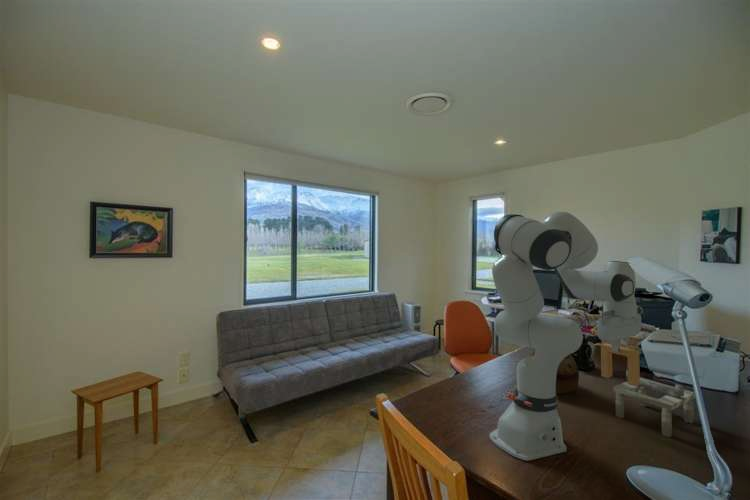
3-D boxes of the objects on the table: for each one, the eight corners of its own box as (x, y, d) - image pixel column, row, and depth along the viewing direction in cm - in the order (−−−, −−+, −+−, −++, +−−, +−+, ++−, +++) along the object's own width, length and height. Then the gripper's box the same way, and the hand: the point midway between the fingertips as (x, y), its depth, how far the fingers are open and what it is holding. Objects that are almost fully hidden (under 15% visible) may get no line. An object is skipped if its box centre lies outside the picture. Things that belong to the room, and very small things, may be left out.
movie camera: (609, 366, 158) (606, 330, 158) (592, 376, 149) (588, 338, 149) (546, 352, 184) (544, 321, 184) (528, 360, 175) (525, 327, 175)
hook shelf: (671, 438, 100) (670, 393, 100) (613, 415, 114) (612, 375, 114) (696, 422, 109) (695, 381, 108) (639, 402, 123) (639, 366, 123)
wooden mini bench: (639, 384, 105) (639, 350, 105) (635, 386, 103) (634, 352, 104) (606, 374, 114) (605, 343, 114) (601, 376, 112) (600, 344, 112)
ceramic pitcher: (530, 394, 131) (529, 320, 131) (523, 375, 150) (522, 311, 150) (586, 400, 125) (585, 323, 125) (570, 380, 145) (570, 313, 144)
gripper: (612, 313, 101) (613, 357, 101) (645, 308, 111) (645, 348, 111) (591, 310, 107) (592, 352, 107) (624, 305, 116) (624, 343, 116)
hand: (619, 350), depth 109 cm, fingers closed on wooden mini bench, 3 cm apart
